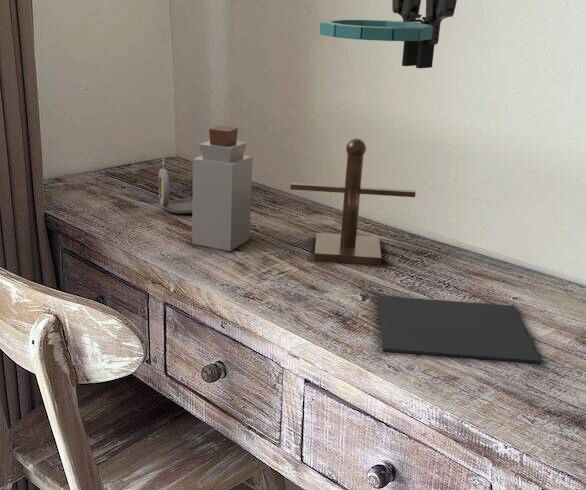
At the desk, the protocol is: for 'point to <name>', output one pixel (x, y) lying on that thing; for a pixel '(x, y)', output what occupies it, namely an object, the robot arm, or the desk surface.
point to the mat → (454, 329)
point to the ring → (376, 30)
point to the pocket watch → (164, 194)
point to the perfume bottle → (221, 191)
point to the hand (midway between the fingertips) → (416, 66)
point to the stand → (350, 214)
